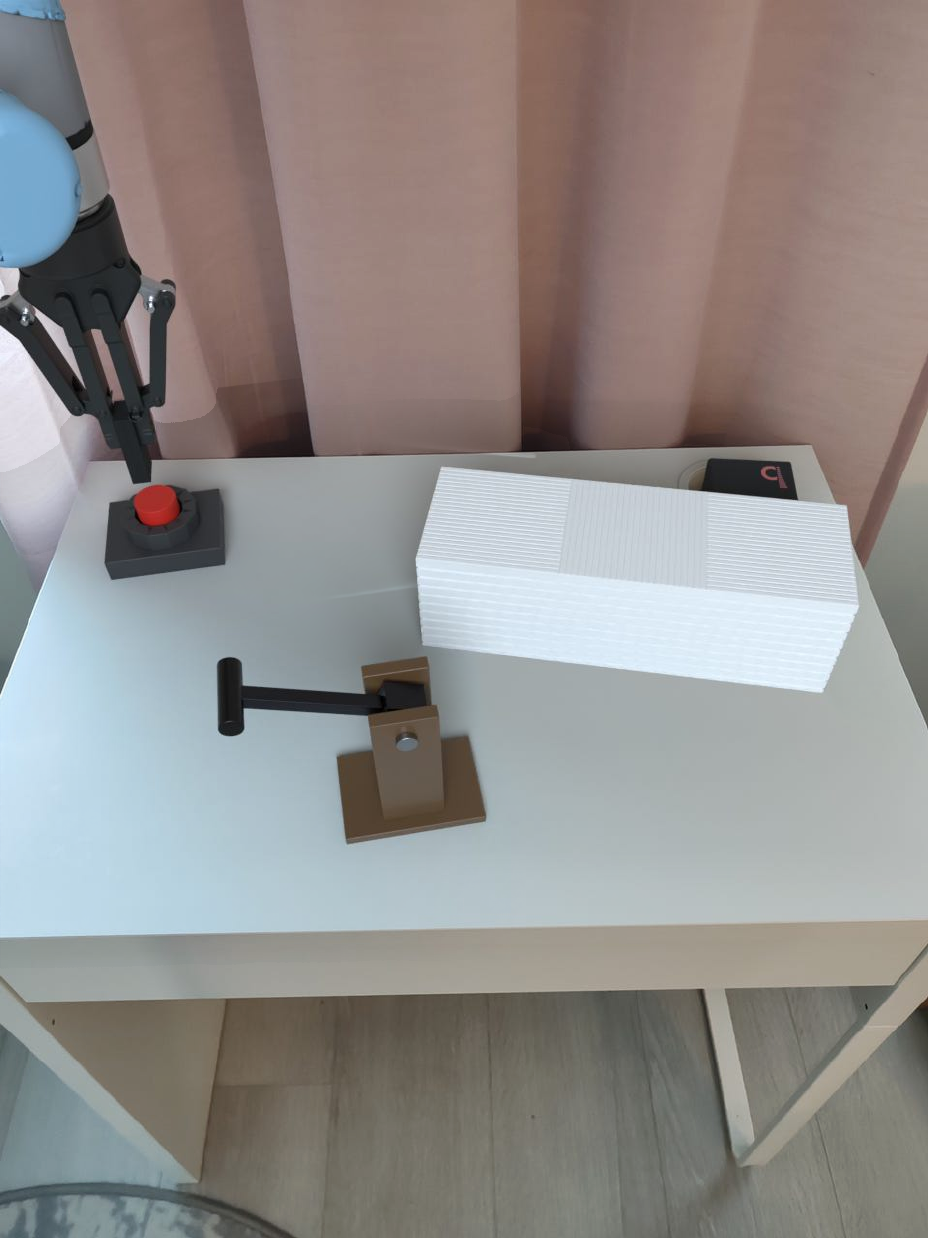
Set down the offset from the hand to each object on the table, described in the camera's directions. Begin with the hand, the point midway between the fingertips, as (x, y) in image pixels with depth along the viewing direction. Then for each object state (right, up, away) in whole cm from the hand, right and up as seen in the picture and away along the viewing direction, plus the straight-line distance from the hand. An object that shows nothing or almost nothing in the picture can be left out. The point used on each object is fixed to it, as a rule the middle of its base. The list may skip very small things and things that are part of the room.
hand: (142, 472), depth 85 cm
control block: (0, -5, +7) cm, 9 cm away
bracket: (+23, -25, -11) cm, 36 cm away
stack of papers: (+41, -13, -1) cm, 43 cm away
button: (0, -3, +4) cm, 5 cm away
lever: (+18, -18, -21) cm, 33 cm away
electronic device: (+53, -5, +6) cm, 53 cm away
